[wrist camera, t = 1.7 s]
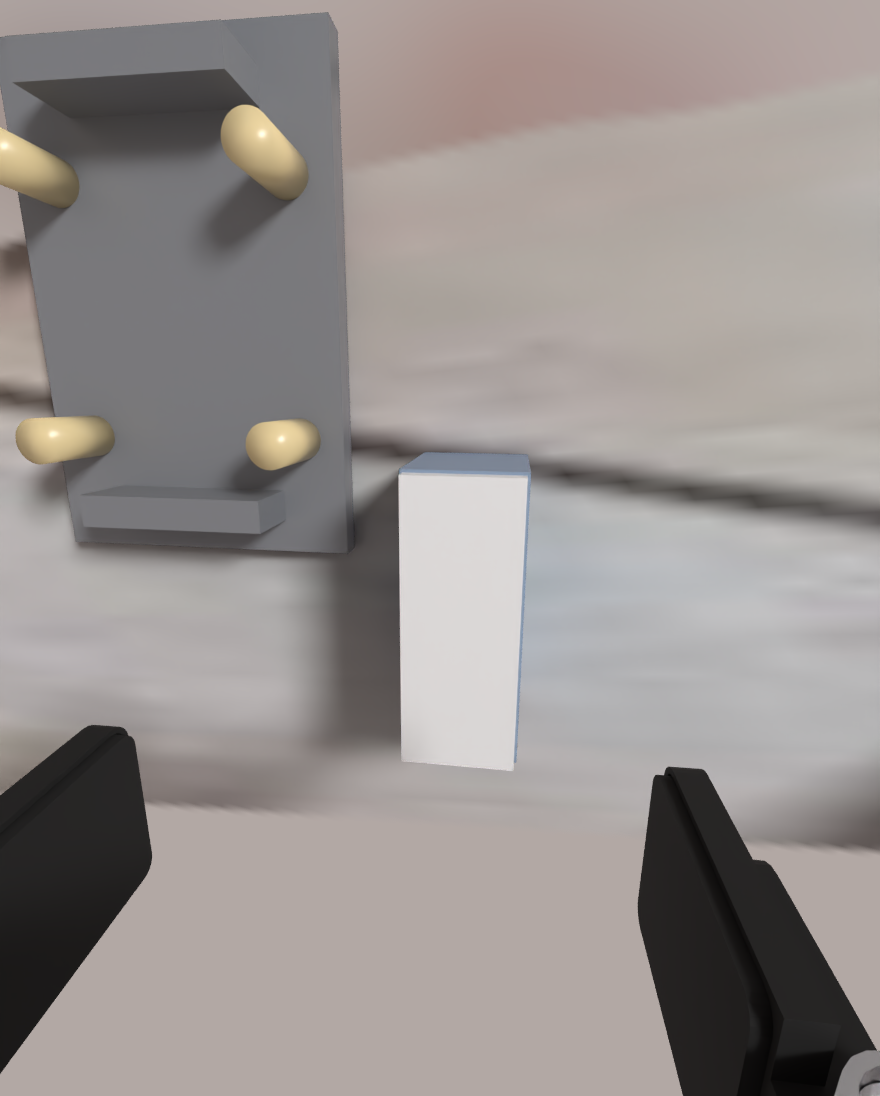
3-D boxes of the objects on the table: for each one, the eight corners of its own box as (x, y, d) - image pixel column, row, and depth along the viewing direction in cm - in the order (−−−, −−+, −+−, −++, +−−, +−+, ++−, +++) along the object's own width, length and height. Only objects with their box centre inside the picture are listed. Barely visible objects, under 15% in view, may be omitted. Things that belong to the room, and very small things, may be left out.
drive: (527, 454, 22) (531, 475, 16) (515, 685, 25) (516, 773, 19) (425, 451, 23) (395, 471, 17) (425, 679, 25) (398, 763, 19)
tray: (337, 30, 19) (292, -60, 15) (354, 547, 24) (323, 576, 20) (16, 54, 21) (-98, -24, 17) (92, 535, 25) (16, 561, 21)
